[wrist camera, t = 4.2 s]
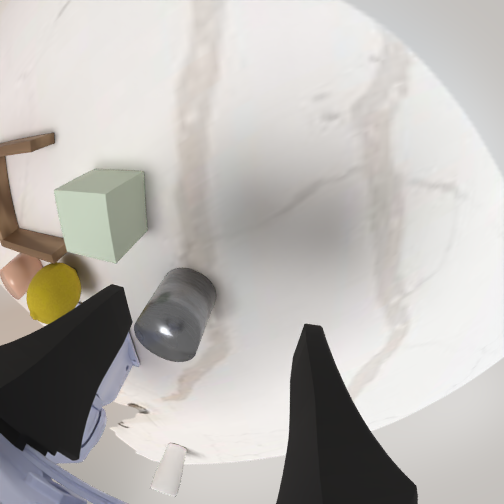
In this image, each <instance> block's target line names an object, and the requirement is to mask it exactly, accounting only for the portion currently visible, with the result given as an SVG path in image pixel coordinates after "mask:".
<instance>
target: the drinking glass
mask: <svg viewBox="0 0 504 504" xmlns="http://www.w3.org/2000/svg"><path fill="white" fill-rule="evenodd" d="M186 453H187V449H186V448H184V447H182V446H180V445H177V444H173V443H169V444H168V445H167V447H166V450H165V452H164V455H163V457H162V459H161V461H160V463H159V466H158V468H157V470H156V472H155V475H154V477H153V480H152V483H151V487H150V488H151V489H153V490H155V491H158V492H161V493H164V494H167V495H170V496H174V497H176V496H177V493H178V490H179V486H180V482H181V477H182V471H183V466H184V461H185V456H186Z"/></svg>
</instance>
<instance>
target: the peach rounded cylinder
mask: <svg viewBox="0 0 504 504" xmlns="http://www.w3.org/2000/svg"><path fill="white" fill-rule="evenodd" d="M42 268H43V266H42V264H41V262H40V260H39V259H38V258H35V257H32V256H29V255H26V254H23V253H19V254H18V255H17V256H16V257H15V258H14V259H12V260H11V261H10V262H9V263H8V264H7V265H6V266H5V267H3V268H2V269H1V270H0V276H1V279H2V282H3V284H4V286H5V287H6V289H7V290H8V291H9V293H10V294H11V295H12V296H13V297H14V298H16V299H20V298H21V297H22V296H23V295H24V294H25V293H26V292H27V289H28V286H29V284H30V282H31V281H32V279H33V277H34V276H35V275H36V273H37V272H38V271H39V270H40V269H42Z"/></svg>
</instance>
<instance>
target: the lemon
mask: <svg viewBox="0 0 504 504" xmlns="http://www.w3.org/2000/svg"><path fill="white" fill-rule="evenodd" d="M80 294H81V284H80V280H79V277H78V275H77V271H76V270H75V269H73V268H71V267H70V266H68V265H67V264H64V263H58V262H56V263H55V264H53V263H51V264H49V265H46V266H45V267H43V268H42V269H40V270H39V271H38V272H37V273H36V275H35V276H34V277H33V279H32V281H31V282H30V284H29V286H28V289H27V304H28V308H29V310H30V316H31V317H32V318H33V319H34V320H38V321H40V322H42V323H45V324H50V323H52V322H53V321H55V320H56V319H58V318H60V317H61V316H63V315H65V314H66V313H68V312H69V311H71V310H72V309H74V308H75V307H76V305H77V304H78V302H79V299H80Z"/></svg>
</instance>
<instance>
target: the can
mask: <svg viewBox="0 0 504 504" xmlns="http://www.w3.org/2000/svg"><path fill="white" fill-rule="evenodd" d="M215 301H216V291H215V288H214V286H213V285H212V283H211V282H210V281H209V280H208V279H207V278H206V277H205V276H204V275H202V274H201V273H199V272H197V271H195V270H192V269H188V268H177V269H173V270H171V271H170V272H168V273H167V275H166V276H165V277H164V279H163V280H162V282H161V283H160V285H159V287H158V288H157V290H156V291H155V293H154V294H153V296H152V297H151V299H150V300H149V302H148V304H147V305H146V307H145V308H144V310H143V312H142V313H141V315H140V316H139V318H138V320H137V321H136V323H135V326H134V331H135V334H136V336H137V338H138V340H139V341H140V342H141V344H142V345H143V346H144V347H145V348H146V349H148V350H149V351H150V352H152V353H153V354H155V355H157V356H159V357H161V358H164V359H166V360H170V361H175V362H184V361H188V360H191V359H192V358H193V357H194V356H195V354H196V351H197V349H198V346H199V343H200V341H201V338H202V335H203V333H204V330H205V327H206V325H207V322H208V319H209V317H210V314H211V312H212V309H213V306H214V304H215Z"/></svg>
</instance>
